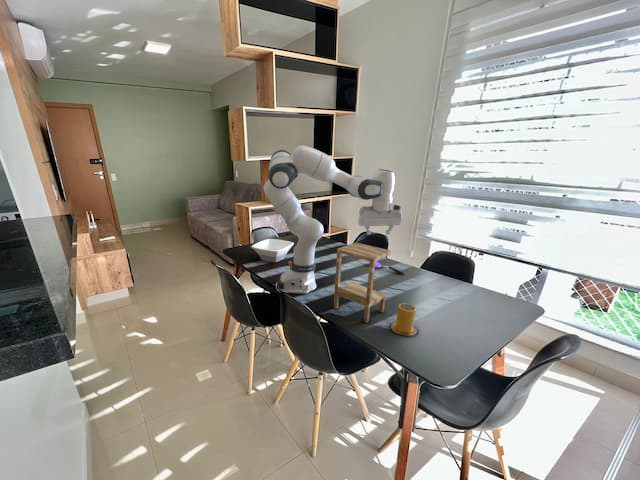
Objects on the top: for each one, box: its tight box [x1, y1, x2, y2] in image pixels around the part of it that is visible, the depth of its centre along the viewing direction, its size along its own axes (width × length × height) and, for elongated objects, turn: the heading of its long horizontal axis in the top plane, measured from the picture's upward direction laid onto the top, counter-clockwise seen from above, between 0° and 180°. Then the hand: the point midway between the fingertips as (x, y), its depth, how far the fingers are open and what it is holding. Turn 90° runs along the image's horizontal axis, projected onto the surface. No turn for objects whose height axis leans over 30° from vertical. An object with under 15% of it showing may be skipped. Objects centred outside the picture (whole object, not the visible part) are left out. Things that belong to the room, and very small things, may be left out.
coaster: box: [390, 321, 418, 337], centre depth 119 cm, size 10×10×1 cm
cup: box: [395, 302, 417, 333], centre depth 117 cm, size 7×7×10 cm
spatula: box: [368, 260, 405, 275], centre depth 180 cm, size 24×7×2 cm, turn 37°
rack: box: [333, 242, 393, 324], centre depth 129 cm, size 14×18×30 cm
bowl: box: [250, 238, 295, 263], centre depth 201 cm, size 24×25×10 cm
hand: (378, 234), depth 140 cm, fingers open, 8 cm apart
